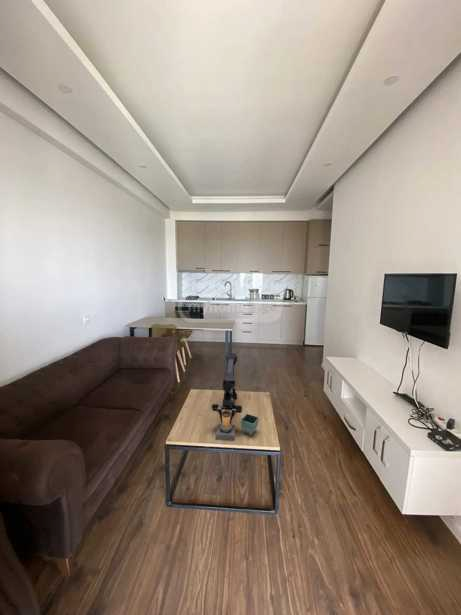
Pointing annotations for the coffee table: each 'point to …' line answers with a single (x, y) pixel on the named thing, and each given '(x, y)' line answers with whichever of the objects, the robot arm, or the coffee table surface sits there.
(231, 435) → the socket
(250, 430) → the flower pot
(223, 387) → the robot arm
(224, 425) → the plug
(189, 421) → the coffee table surface
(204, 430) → the coffee table surface
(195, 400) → the coffee table surface
